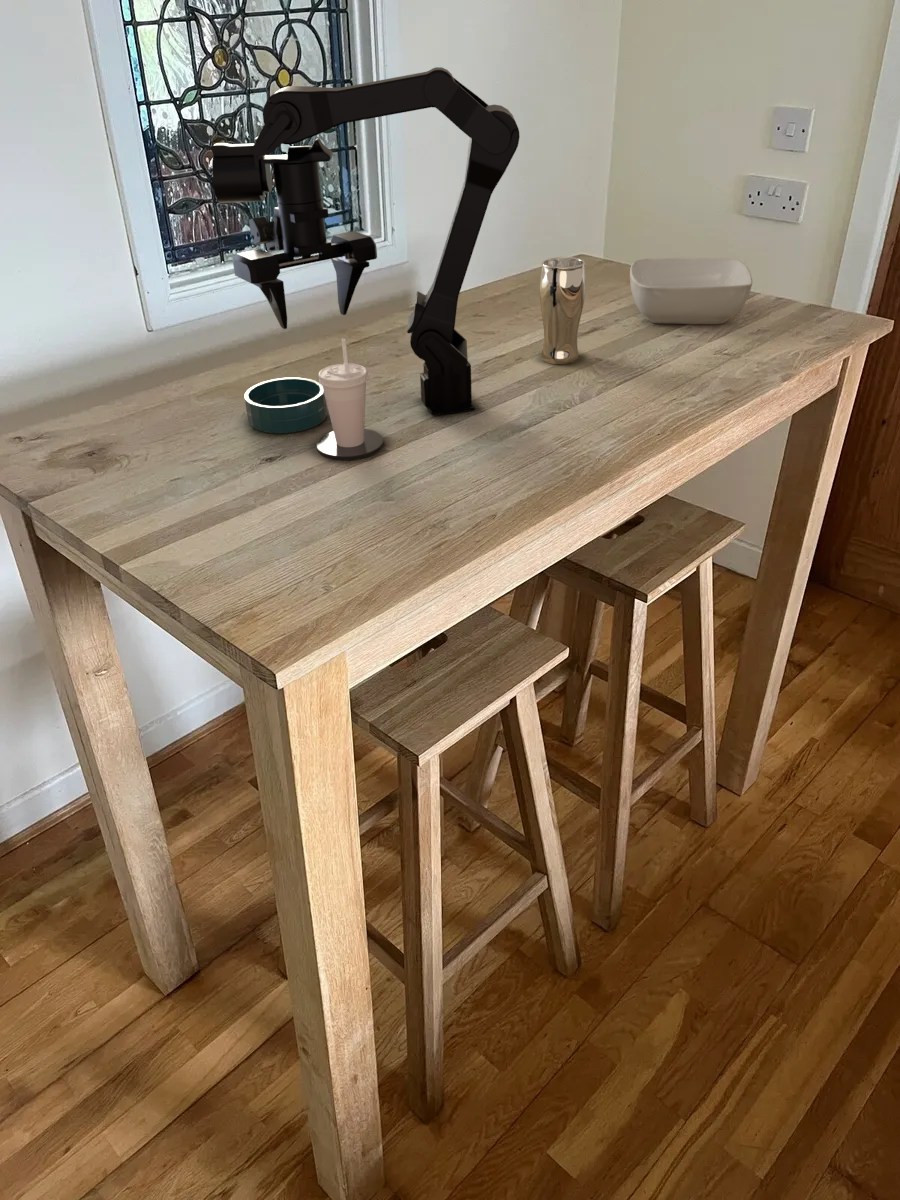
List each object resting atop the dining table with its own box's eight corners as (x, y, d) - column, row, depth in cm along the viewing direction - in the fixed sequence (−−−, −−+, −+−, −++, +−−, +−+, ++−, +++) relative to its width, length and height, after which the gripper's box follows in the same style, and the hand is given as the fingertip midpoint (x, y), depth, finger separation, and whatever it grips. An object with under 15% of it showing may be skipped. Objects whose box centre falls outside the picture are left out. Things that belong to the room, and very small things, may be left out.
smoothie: (366, 453, 119) (356, 348, 111) (319, 450, 120) (306, 346, 112) (379, 432, 124) (370, 331, 116) (334, 430, 125) (323, 329, 118)
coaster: (376, 428, 127) (376, 424, 127) (389, 455, 120) (389, 450, 120) (312, 437, 125) (311, 432, 125) (321, 464, 118) (321, 460, 118)
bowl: (626, 296, 174) (629, 254, 170) (736, 296, 171) (743, 254, 167) (628, 331, 157) (631, 285, 153) (751, 332, 154) (758, 286, 150)
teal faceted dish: (321, 399, 136) (318, 373, 134) (332, 428, 127) (329, 401, 125) (246, 409, 134) (241, 383, 132) (252, 439, 125) (247, 412, 123)
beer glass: (532, 363, 146) (534, 266, 137) (545, 348, 151) (548, 255, 143) (575, 367, 144) (579, 269, 135) (586, 353, 149) (591, 257, 140)
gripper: (332, 181, 127) (344, 295, 136) (206, 201, 118) (227, 321, 127) (374, 192, 119) (383, 312, 128) (242, 215, 111) (262, 341, 119)
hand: (314, 321), depth 126 cm, fingers open, 9 cm apart
